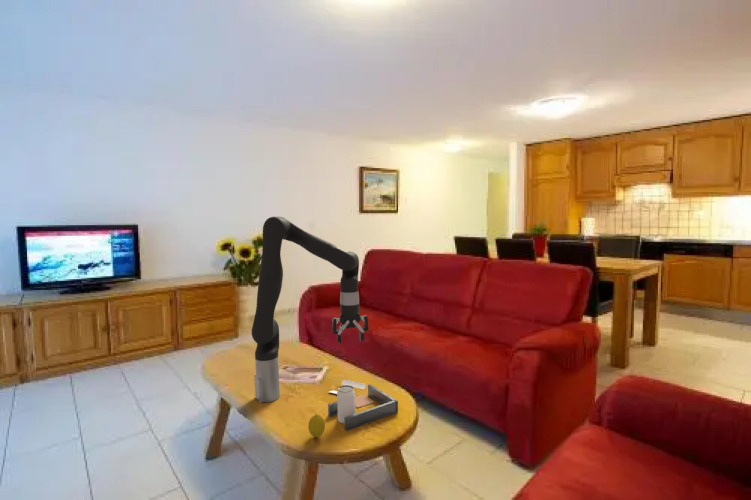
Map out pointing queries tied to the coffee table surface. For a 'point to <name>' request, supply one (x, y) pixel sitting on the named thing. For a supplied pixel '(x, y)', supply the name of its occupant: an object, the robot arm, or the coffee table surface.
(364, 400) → the pad
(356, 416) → the guide rails
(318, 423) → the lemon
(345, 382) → the white strips
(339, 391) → the can
